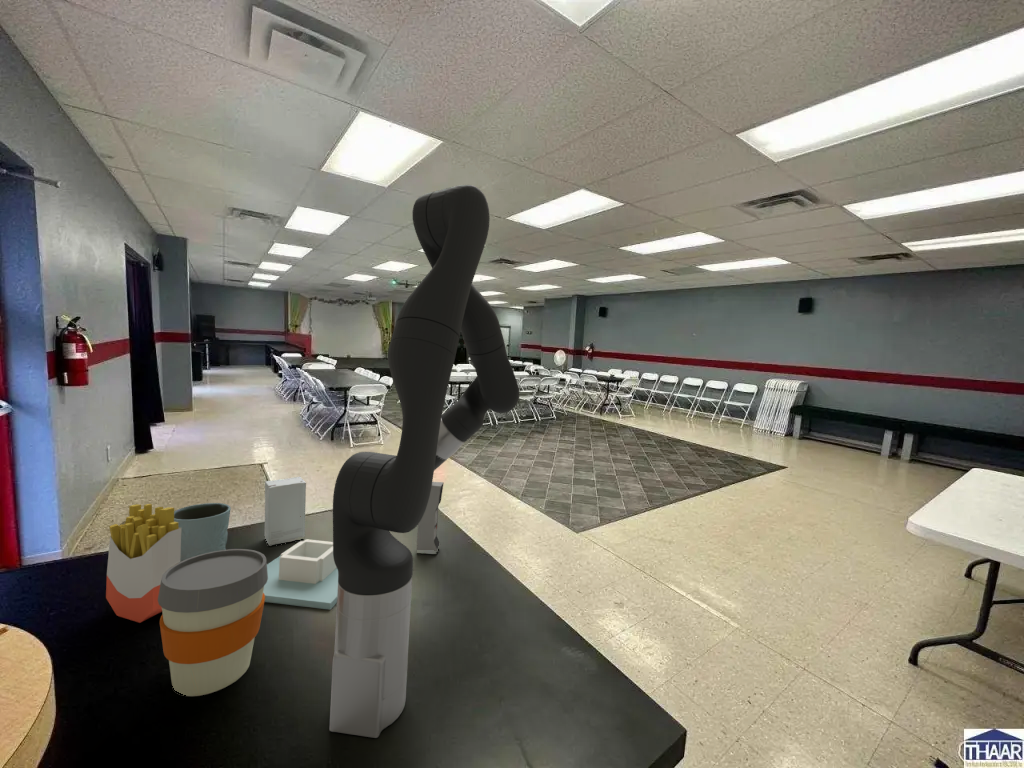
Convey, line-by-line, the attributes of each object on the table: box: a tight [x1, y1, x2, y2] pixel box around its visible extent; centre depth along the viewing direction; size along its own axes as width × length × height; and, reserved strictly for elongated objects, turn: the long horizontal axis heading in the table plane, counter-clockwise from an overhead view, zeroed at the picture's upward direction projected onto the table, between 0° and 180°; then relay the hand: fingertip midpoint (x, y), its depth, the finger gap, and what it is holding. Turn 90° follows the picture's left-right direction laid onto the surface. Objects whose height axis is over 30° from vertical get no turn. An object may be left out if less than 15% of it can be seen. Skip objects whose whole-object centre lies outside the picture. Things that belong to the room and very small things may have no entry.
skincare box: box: [264, 476, 307, 545], centre depth 102 cm, size 8×6×15 cm
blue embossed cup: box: [174, 502, 232, 562], centre depth 87 cm, size 10×10×12 cm
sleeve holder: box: [263, 538, 338, 610], centre depth 86 cm, size 20×20×6 cm
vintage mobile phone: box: [416, 481, 444, 551], centre depth 100 cm, size 4×5×25 cm
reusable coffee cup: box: [158, 548, 268, 697], centre depth 58 cm, size 12×13×15 cm
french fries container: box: [105, 503, 181, 624], centre depth 70 cm, size 5×11×18 cm, turn 74°
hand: (375, 497), depth 84 cm, fingers closed on maple peg, 4 cm apart
